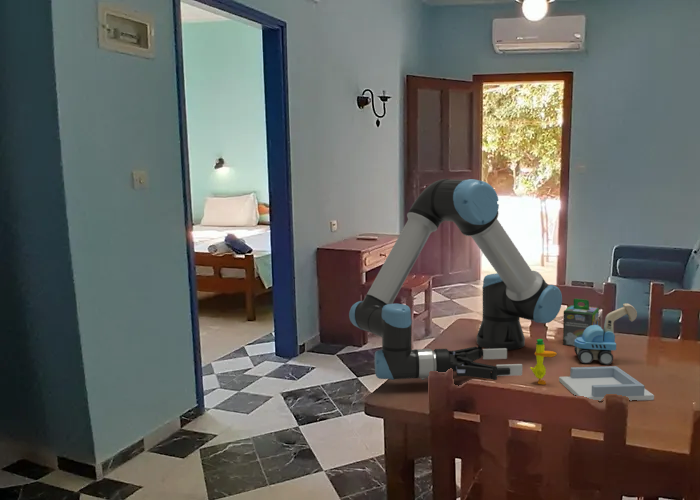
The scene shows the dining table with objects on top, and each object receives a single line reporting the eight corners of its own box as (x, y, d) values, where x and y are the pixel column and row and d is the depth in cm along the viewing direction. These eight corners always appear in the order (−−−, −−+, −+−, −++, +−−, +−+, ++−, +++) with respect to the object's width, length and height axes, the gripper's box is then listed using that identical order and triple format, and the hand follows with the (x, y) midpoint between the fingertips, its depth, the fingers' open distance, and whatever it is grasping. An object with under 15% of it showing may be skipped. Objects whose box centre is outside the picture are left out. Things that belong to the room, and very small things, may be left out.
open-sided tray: (581, 402, 154) (582, 387, 153) (559, 381, 169) (559, 367, 168) (653, 399, 154) (654, 385, 154) (625, 379, 169) (625, 365, 169)
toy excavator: (637, 367, 179) (640, 308, 177) (576, 364, 182) (578, 306, 180) (630, 358, 187) (633, 301, 185) (571, 355, 191) (573, 299, 188)
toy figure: (554, 381, 168) (556, 338, 166) (556, 386, 165) (557, 341, 163) (528, 380, 169) (529, 337, 168) (529, 385, 166) (530, 341, 164)
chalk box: (598, 342, 204) (600, 297, 202) (591, 349, 196) (593, 302, 194) (569, 338, 209) (570, 294, 207) (561, 344, 202) (563, 299, 200)
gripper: (426, 362, 178) (500, 360, 178) (442, 394, 153) (528, 392, 154) (426, 336, 177) (501, 334, 177) (442, 364, 152) (529, 362, 153)
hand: (514, 361), depth 166 cm, fingers open, 13 cm apart
